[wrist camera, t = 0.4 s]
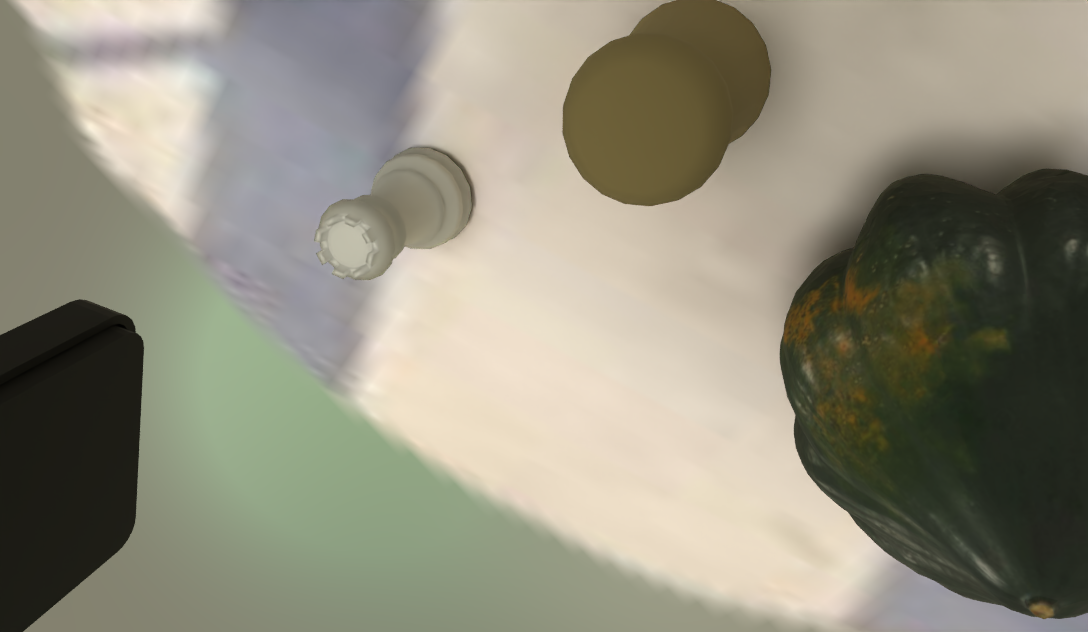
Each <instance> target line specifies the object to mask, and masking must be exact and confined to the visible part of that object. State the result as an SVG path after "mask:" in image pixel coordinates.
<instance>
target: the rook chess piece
mask: <svg viewBox="0 0 1088 632" xmlns="http://www.w3.org/2000/svg"><path fill="white" fill-rule="evenodd" d="M471 208H472V203H471V193H470V186H469V184H468V182H467V180H466V178H465V176H464V174H463V172H462V170H461V169H460V168H459V167H458V166H457V165H456V164H455V163H454V162H453V161H452V160H451V159H450V158H449V157H448V156H447V155H444V154H442V153H440V152H437V151H435V150H432V149H430V148H409V149H407V150H405V151H403V152H401V153H399V154H397V155H395V156H394V157H393V158H392V159H391V160H389V161H387V162H386V163H385V164H384V166H383V167H382V168H381V170H380V171H379V172H378V173H377V175H376V176H375V178H374V182H373V186H372V190H371V194H370V195H362V196H360V197H358V198H356V199H354V200H347V199H342V200H340V201H338V202H336V203H334V204H332V205H330V206H329V207H328V209H327V210H326V211H325V213H324V214H323V215H322V216H321V220H320V224H319V228H318V229H317V230H316V234H315V239H314V241H316V242H320V247H321V249H322V250H321V251H319V252H318V253H316V254H317V256H318V258H319V260H320V262H321V263H322V265H323V264H325V263H326V262H329V263H330V264H331V265H332V266H333V267H334V271H333V273H332V274H333V275H335V276H338V277H340V278H342V279H344V278H345V277H347V276H348V277H350V278H352V279H355V280H371V279H374V278H376V277H378V276H381V275H383V273H384V272H385V271H386V270H387V269H388V268H389V266H390V265H391V264H392V260H393V259H394V258H396V257H397V256H398V254H399V253H400V252H401V251H402V250H403V248H404V247H408V248H412V249H431V248H434V247H436V246H438V245H441V244H443V243H445V242H447V241H448V240H450V239H453V238H455V237H456V236H457V235H458V234H459V233H460V231H461V230H462V229H463V228H464V227H465V226H466V225H467V222H468V218H469V215H470V212H471Z"/></svg>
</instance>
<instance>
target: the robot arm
mask: <svg viewBox="0 0 1088 632" xmlns="http://www.w3.org/2000/svg"><path fill="white" fill-rule="evenodd" d="M143 355H144V346H143V340H142V338H141V336H139V335H138V334H137V333H136V331H135V326H134V323H133V321H132V320H131V319H130V318H129V317H128V316H126V315H123V314H121V313H118V312H116V311H113V310H110V309H108V308H105V307H103V306H100V305H97V304H95V303H92V302H90V301H87V300H75V301H72V302H69V303H67V304H65V305H63V306H61V307H59V308H57V309H55V310H52V311H50V312H48V313H46V314H44V315H42V316H40V317H38V318H36V319H34V320H32V321H29V322H27V323H25V324H23V325H21V326H19V327H17V328H15V329H12V330H10V331H8V332H6V333H4V334H2V335H0V632H23V631H24V630H25V629H27V628H28V627H29V626H30V625H31V624H33V623H34V622H35V621H36V620H37V619H38V618H40V617H41V616H42V615H43V614H44V613H46V612H47V611H48V610H49V609H50V608H52V607H53V606H54V605H55V604H56V603H57V602H58V601H60V600H61V599H62V598H63V597H65V596H66V595H67V594H68V593H69V592H70V591H72V590H73V589H74V588H75V587H76V586H78V585H79V584H80V583H81V582H82V581H83V580H84V579H86V578H87V577H88V576H89V575H91V574H92V573H93V572H94V571H95V570H96V569H98V568H99V567H100V566H101V565H102V564H104V563H105V562H106V561H107V560H108V559H109V558H111V557H112V556H113V555H114V554H115V553H117V552H118V551H119V550H120V549H121V548H122V547H123V545H124V544H125V543H126V541H127V540H128V538H129V536H130V534H131V533H132V530H133V527H134V524H135V518H136V499H137V478H138V458H139V438H140V416H141V396H142V376H143Z"/></svg>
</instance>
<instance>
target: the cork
mask: <svg viewBox="0 0 1088 632" xmlns="http://www.w3.org/2000/svg"><path fill="white" fill-rule="evenodd" d="M770 75H771V67H770V63H769V58H768V53H767V49H766V45H765V43H764V41H763V40H762V38H761V36H760V35H759V33H758V31H757V30H756V28H755V26H754V24H753V23H752V22H751V21H749V20H748V19H747V18H746V17H745V16H744V15H742V14H741V13H740V12H739V11H738V10H736V9H735V8H734V7H732V6H729V5H727V4H724V3H721V2H719V1H716V0H676V1H672V2H669V3H666V4H663V5H661V6H659V7H658V8H657V9H655V10H654V11H652V12H651V13H650V14H648V15H647V16H645V17H644V18H642V19H641V21H640V22H639V23H638V25H637V26H636V27H635V29H634V30H633V31H632V33H631V34H630V35H629V36H627V37H623V38H620V39H616V40H613V41H611V42H609V43H608V44H606V45H605V46H603V47H602V48H601V49H599V50H598V51H596V52H595V53H593V54H592V55H591V56H589V57H588V58H587V60H586V61H585V62H584V64H583V65H582V66H581V68H580V69H579V70H578V72H577V73H576V74H575V76H574V77H573V78H572V81H571V84H570V87H569V90H568V93H567V96H566V99H565V102H564V106H563V136H564V140H565V143H566V147H567V150H568V154H569V157H570V159H571V160H572V162H573V163H574V165H575V166H576V168H577V169H578V171H579V173H580V174H581V176H582V177H583V178H584V179H585V180H586V181H587V182H588V183H589V184H591V185H592V186H593V187H594V188H595V189H597V190H598V191H599V192H600V193H601V194H603V195H605V196H608V197H610V198H612V199H615V200H617V201H619V202H622V203H624V204H632V205H643V206H654V205H658V204H663V203H667V202H672V201H677V200H679V199H681V198H683V197H684V196H686V195H688V194H690V193H691V192H693V191H695V190H696V189H698V188H700V187H701V186H702V185H703V184H704V183H705V182H706V180H707V179H708V178H709V177H710V176H711V175H712V174H713V173H714V171H715V170H716V169H717V168H718V167H719V165H720V163H721V160H722V158H723V156H724V153H725V151H726V149H727V146H728V144H729V143H731V142H733V141H734V140H736V139H738V138H739V137H741V136H742V135H743V134H744V133H745V132H746V131H747V130H748V129H749V127H750V126H751V125H752V124H753V123H754V122H755V121H756V119H757V118H758V117H759V115H760V113H761V110H762V108H763V106H764V103H765V101H766V99H767V97H768V93H769V84H770Z"/></svg>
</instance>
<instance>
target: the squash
mask: <svg viewBox="0 0 1088 632" xmlns="http://www.w3.org/2000/svg"><path fill="white" fill-rule="evenodd" d="M780 364H781V370H782V375H783V379H784V384H785V388H786V392H787V397H788V399H789V401H790V403H791V406H792V408H793V410H794V412H795V415H796V416H795V423H794V438H795V445H796V449H797V452H798V454H799V457H800V459H801V462H802V464H803V466H804V468H805V470H806V471H807V473H808V475H809V476H810V477H811V478H812V480H813V481H814V482H815V483H816V484H817V486H818V487H819V488H820V489H821V490H822V491H823V492H824V493H825V494H826V495H827V496H828V497H830V498H831V499H832V500H833V501H834V502H835V503H836V504H838V505H839V506H840V507H841V508H843V509H844V510H846V511H847V512H848V513H849V514H850V515H851V517H852V518H853V520H854V521H855V523H856V524H857V525H858V526H859V527H860V528H861V529H862V530H863V531H864V532H865V533H866V534H867V535H868V536H869V537H870V538H871V539H872V540H873V541H874V542H875V543H876V544H877V545H878V546H879V547H881V548H882V549H883V550H884V551H885V552H886V553H888V554H889V555H891V556H892V557H893V558H895V559H896V560H898V561H899V562H901V563H903V564H904V565H906V566H907V567H909V568H910V569H912V570H913V571H915V572H916V573H918V574H920V575H923V576H925V577H927V578H929V579H932V580H934V581H936V582H938V583H939V584H941V585H942V586H944V587H946V588H947V589H949V590H951V591H953V592H955V593H957V594H959V595H961V596H963V597H966V598H970V599H973V600H977V601H982V602H987V603H992V604H997V605H1002V606H1005V607H1007V608H1009V609H1011V610H1013V611H1016V612H1019V613H1022V614H1026V615H1029V616H1032V617H1040V618H1042V619H1046V618H1056V619H1062V618H1070V617H1076V616H1079V615H1082V614H1085V613H1088V176H1087V175H1084V174H1080V173H1076V172H1073V171H1069V170H1062V169H1042V170H1038V171H1035V172H1032V173H1029V174H1026V175H1024V176H1022V177H1021V178H1019V179H1018V180H1016V181H1015V182H1013V183H1012V184H1010V185H1009V186H1007V187H1006V188H1005V189H1003V190H1002V191H1001V192H999V193H998V194H997V195H996V194H993V193H990V192H987V191H984V190H981V189H978V188H976V187H974V186H972V185H969V184H966V183H963V182H960V181H957V180H954V179H950V178H947V177H943V176H938V175H928V174H921V175H916V176H911V177H906V178H903V179H900V180H897V181H896V182H894V183H892V184H891V185H890V186H889V187H888V188H887V189H886V190H885V191H884V192H883V193H881V195H880V197H879V198H878V200H877V202H876V203H875V205H874V206H873V208H872V210H871V211H870V213H869V215H868V218H867V220H866V222H865V224H864V226H863V228H862V230H861V232H860V235H859V237H858V240H857V242H856V245H855V247H854V248H853V249H848V250H845V251H842V252H840V253H838V254H836V255H834V256H832V257H830V258H829V259H827V260H825V261H823V262H822V263H821V264H820V265H819V266H818V267H816V268H815V269H814V270H813V271H812V273H811V274H810V275H809V276H808V278H807V279H806V280H805V281H804V283H803V284H802V285H801V287H800V288H799V289H798V290H797V292H796V293H795V296H794V298H793V301H792V303H791V306H790V309H789V311H788V314H787V317H786V321H785V325H784V334H783V337H782V340H781V344H780Z"/></svg>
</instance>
